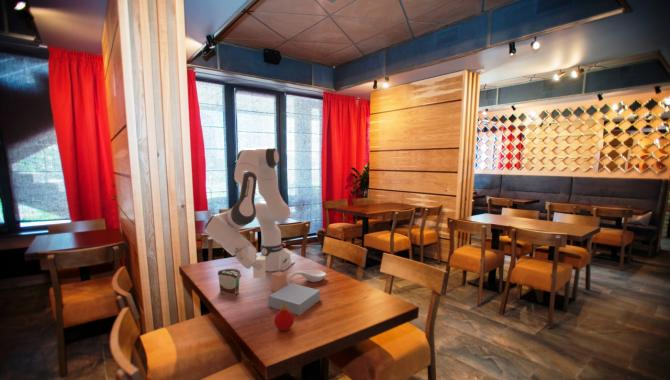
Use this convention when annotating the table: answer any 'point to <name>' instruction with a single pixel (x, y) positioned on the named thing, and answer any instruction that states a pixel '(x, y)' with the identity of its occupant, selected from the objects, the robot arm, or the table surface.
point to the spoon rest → (307, 275)
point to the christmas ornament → (283, 319)
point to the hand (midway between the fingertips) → (260, 266)
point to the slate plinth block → (294, 298)
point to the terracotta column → (278, 281)
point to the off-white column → (262, 271)
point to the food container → (229, 281)
